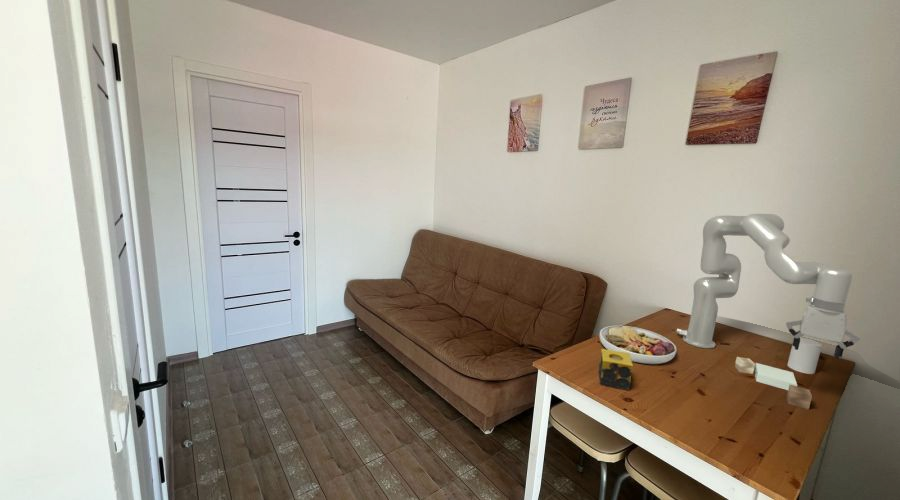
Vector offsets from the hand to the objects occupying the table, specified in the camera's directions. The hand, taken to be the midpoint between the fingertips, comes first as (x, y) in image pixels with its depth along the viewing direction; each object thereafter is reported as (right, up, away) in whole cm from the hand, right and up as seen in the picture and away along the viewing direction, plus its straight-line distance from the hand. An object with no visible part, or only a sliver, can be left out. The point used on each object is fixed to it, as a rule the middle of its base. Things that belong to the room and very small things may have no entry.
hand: (815, 353), depth 121 cm
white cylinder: (+20, -14, +26) cm, 36 cm away
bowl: (-42, -10, +37) cm, 57 cm away
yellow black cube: (-63, -14, +12) cm, 66 cm away
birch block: (-6, -14, +23) cm, 27 cm away
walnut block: (-4, -18, +2) cm, 19 cm away
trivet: (0, -15, +16) cm, 22 cm away
